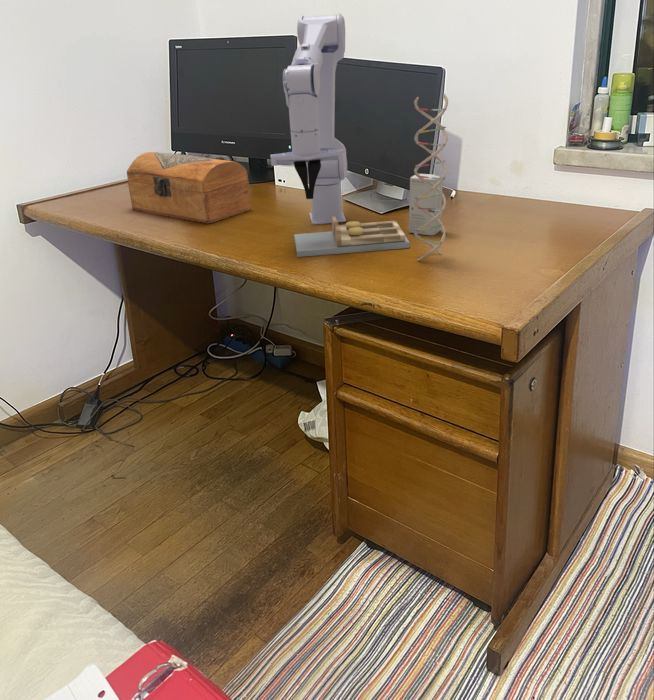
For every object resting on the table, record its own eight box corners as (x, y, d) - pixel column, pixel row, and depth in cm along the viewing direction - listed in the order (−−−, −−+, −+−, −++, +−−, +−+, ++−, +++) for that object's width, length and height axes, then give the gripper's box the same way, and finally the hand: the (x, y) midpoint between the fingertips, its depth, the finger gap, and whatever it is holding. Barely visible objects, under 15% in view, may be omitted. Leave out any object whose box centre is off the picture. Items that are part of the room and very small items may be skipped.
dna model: (433, 250, 138) (435, 92, 125) (453, 258, 133) (457, 94, 120) (405, 256, 135) (404, 95, 122) (424, 265, 130) (426, 98, 117)
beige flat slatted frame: (332, 231, 149) (331, 216, 148) (395, 225, 150) (395, 211, 149) (337, 246, 139) (336, 231, 138) (405, 240, 140) (405, 225, 139)
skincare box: (408, 233, 149) (407, 177, 144) (416, 227, 153) (416, 172, 147) (434, 236, 146) (435, 179, 141) (442, 230, 150) (443, 174, 145)
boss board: (294, 239, 150) (293, 223, 148) (398, 231, 151) (398, 214, 149) (297, 257, 139) (296, 239, 137) (409, 247, 140) (409, 230, 139)
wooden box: (128, 211, 182) (118, 158, 176) (177, 197, 193) (169, 146, 187) (203, 227, 164) (195, 168, 158) (252, 210, 175) (247, 155, 169)
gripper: (268, 136, 132) (275, 205, 138) (343, 130, 133) (346, 199, 139) (268, 130, 139) (274, 197, 145) (339, 124, 139) (342, 191, 146)
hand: (309, 197), depth 142 cm, fingers closed
